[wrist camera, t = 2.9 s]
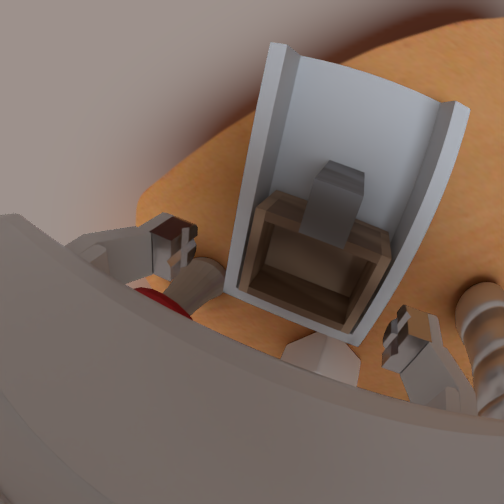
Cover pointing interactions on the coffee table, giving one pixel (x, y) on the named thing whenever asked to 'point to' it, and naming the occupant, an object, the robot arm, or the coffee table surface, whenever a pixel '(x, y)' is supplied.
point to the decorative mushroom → (191, 287)
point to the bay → (347, 160)
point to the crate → (317, 251)
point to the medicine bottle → (324, 357)
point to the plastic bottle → (484, 344)
